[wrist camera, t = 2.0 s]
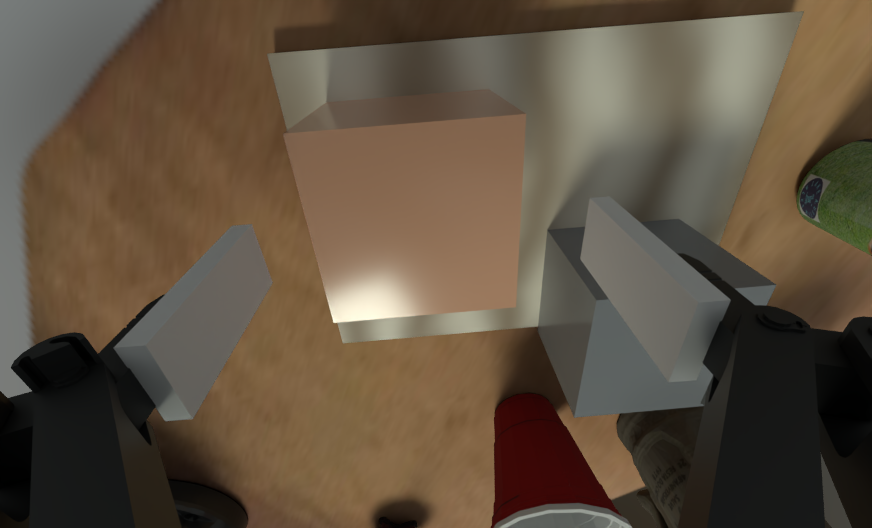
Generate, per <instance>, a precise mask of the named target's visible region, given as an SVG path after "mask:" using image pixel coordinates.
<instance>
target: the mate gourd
mask: <svg viewBox="0 0 872 528" xmlns="http://www.w3.org/2000/svg"><path fill="white" fill-rule="evenodd" d="M379 523H380V524H381V528H415V527H417V522H416V521H415V520H413V521H410V522H406V523H403V524H400V525H394V524H393V523H392V522H391V521H389V520H388V519H387V518H386V517H382V518H380V520H379Z"/></svg>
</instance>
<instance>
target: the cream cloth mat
mask: <svg viewBox="0 0 872 528" xmlns="http://www.w3.org/2000/svg"><path fill="white" fill-rule="evenodd" d="M803 13H804V11H801V12H786V13H774V14H761V15H748V16H736V17H723V18H711V19H698V20H685V21H673V22H660V23H648V24H635V25H622V26H610V27H597V28H585V29H572V30H559V31H547V32H534V33H522V34H509V35H496V36H484V37H471V38H459V39H446V40H433V41H421V42H408V43H396V44H383V45H370V46H358V47H345V48H333V49H320V50H307V51H295V52H282V53H271V54H267V56H268V59H269V63H270V67H271V71H272V75H273V78H274V82H275V86H276V90H277V94H278V98H279V101H280V105H281V109H282V113H283V117H284V120H285V124H286V128H287V130H289V129H290V128H291V127H293V126H294V125H295V124H297V123H298V122H300V121H301V120H302V119H304V118H305V117H306V116H308V115H309V114H311V113H312V112H313V111H315V110H316V109H317V108H319V107H320V106H322V105H323V104H324V103H326V102H335V101H347V100H360V99H372V98H384V97H397V96H409V95H422V94H434V93H446V92H459V91H471V90H484V89H490V90H491V91H493V92H494V93H496V94H497V95H499V96H500V97H502V98H503V99H505V100H506V101H508V102H509V103H511V104H512V105H514V106H515V107H517V108H518V109H520V110H521V111H523V112H524V113H526V128H525V147H524V166H523V185H522V203H521V222H520V241H519V260H518V279H517V298H516V307H514V308H502V309H490V310H479V311H467V312H455V313H444V314H432V315H421V316H409V317H397V318H386V319H374V320H362V321H351V322H339V323H338V326H339V330H340V334H341V338H342V342H343V343H352V342H363V341H375V340H387V339H398V338H410V337H421V336H433V335H444V334H456V333H468V332H479V331H491V330H502V329H514V328H525V327H537V326H538V322H539V311H540V301H541V290H542V280H543V269H544V258H545V248H546V237H547V230H552V229H563V228H575V227H585V225H586V219H587V212H588V206H589V199H590V198H595V197H608V196H610V197H611V198H612V199H613V200H614V201H616V202H617V203H618V204H619V205H620V206H621V207H623V208H624V209H625V210H626V211H627V212H628V213H630V214H631V215H632V216H633V217H634V218H635V219H637V220H638V221H639V222H647V221H659V220H670V219H680V220H681V221H683V222H684V223H686V224H687V225H689V226H690V227H692V228H693V229H695V230H696V231H698V232H699V233H701V234H702V235H704V236H705V237H707V238H708V239H709V240H711V241H712V242H714V243H715V244H717V245H718V246H719V243H720V241H721V238H722V235H723V232H724V230H725V227H726V224H727V221H728V219H729V216H730V213H731V210H732V208H733V205H734V202H735V199H736V197H737V194H738V191H739V188H740V186H741V183H742V180H743V177H744V175H745V172H746V169H747V166H748V164H749V161H750V158H751V155H752V153H753V150H754V147H755V144H756V142H757V139H758V136H759V133H760V131H761V128H762V125H763V122H764V120H765V117H766V114H767V111H768V109H769V106H770V103H771V100H772V98H773V95H774V92H775V89H776V87H777V84H778V81H779V79H780V76H781V73H782V70H783V68H784V65H785V62H786V59H787V57H788V54H789V51H790V48H791V46H792V43H793V40H794V37H795V35H796V32H797V29H798V26H799V24H800V21H801V18H802V15H803Z"/></svg>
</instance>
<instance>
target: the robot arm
mask: <svg viewBox="0 0 872 528" xmlns="http://www.w3.org/2000/svg"><path fill="white" fill-rule="evenodd" d="M580 259H581V261H582V262H583V264H584V265H585V266H586V268H587V269H588V271H589V272H590V273H591V275H592V276H593V278H594V279H595V280H596V282H597V283H598V284H599V286H600V287H601V289H602V290H603V291H604V293H605V294H606V296H607V297H608V298H609V300H610V301H611V303H612V304H613V305H614V307H615V308H616V310H617V311H618V312H619V314H620V315H621V317H622V318H623V319H624V321H625V322H626V324H627V325H628V326H629V328H630V329H631V331H632V332H633V333H634V335H635V336H636V338H637V339H638V340H639V342H640V343H641V345H642V346H643V347H644V349H645V350H646V352H647V353H648V354H649V356H650V357H651V359H652V360H653V361H654V363H655V364H656V366H657V367H658V368H659V370H660V371H661V373H662V374H663V375H664V377H665V378H666V380H667V381H668V382H680V381H693V380H697V378H698V375H699V373H700V371H701V368H702V366H703V364H704V365H705V366H706V367H707V369H708V370H709V371H710V372H711V373H712V374H713V377H712V379H711V381H710V383H709V385H708V388H707V390H706V392H705V394H704V396H703V398H702V401H701V403H700V404H703V405H704V409H703V414H702V418H701V423H700V427H699V432H698V437H697V441H696V446H695V450H694V455H693V459H692V464H691V468H690V473H689V478H688V482H687V487H686V491H685V496H684V500H683V505H682V510H681V514H680V519H679V523H678V528H825V518H824V502H823V486H822V470H821V454H822V457H823V459H824V461H825V464H826V466H827V469H828V471H829V473H830V476H831V478H832V481H833V483H834V486H835V488H836V490H837V493H838V495H839V498H840V500H841V502H842V505H843V507H844V509H845V512H846V514H847V517H848V519H849V521H850V524H851V526H852V528H872V317H858V318H853V319H852V320H851V321H850V322H849V324H848V325H847V327H846V328H845V330H844V331H843V332H836V331H828V330H821V329H813V328H811V327H810V325H808V324H807V323H806V322H805V321H804V320H803V319H801V318H800V317H798V316H796V315H794V314H792V313H790V312H788V311H785V310H782V309H779V308H776V307H771V306H765V305H754V304H753V303H752V302H751V301H749V300H748V299H747V298H746V297H744V296H743V295H742V294H741V293H739V292H738V291H737V290H736V289H734V288H733V287H732V286H731V285H729V284H728V283H727V282H726V281H725V280H722V278H721V277H720V276H718V275H717V274H716V273H715V272H712V270H711V269H710V268H708V267H707V266H706V265H705V264H703V263H702V262H701V261H699V260H697V259H695V258H693V257H691V256H689V255H687V254H684V253H679V254H676V253H675V252H674V251H673V250H672V249H671V248H669V247H668V246H667V245H666V244H665V243H664V242H662V241H661V240H660V239H659V238H658V237H657V236H655V235H654V234H653V233H652V232H651V231H650V230H648V229H647V228H646V227H645V226H644V225H642V224H641V223H640V222H639V221H638V220H637V219H635V218H634V217H633V216H632V215H631V214H630V213H628V212H627V211H626V210H625V209H624V208H623V207H621V206H620V205H619V204H618V203H617V202H616V201H614V200H613V199H612V198H611V197H610V196H608V197H595V198H590V199H589V206H588V212H587V219H586V225H585V232H584V238H583V244H582V251H581V257H580ZM272 283H273V282H272V280H271V277H270V274H269V271H268V268H267V266H266V263H265V260H264V257H263V254H262V252H261V249H260V246H259V243H258V241H257V238H256V235H255V232H254V229H253V227H252V224H249V225H237V226H231V227H230V228H229V229H228V230H227V232H226V233H225V234H224V235H223V236H222V237H221V238H220V239H219V240H218V241H217V242H216V243H215V244H214V245H213V246H212V247H211V248H210V249H209V250H208V251H207V252H206V253H205V254H204V255H203V256H202V257H201V258H200V259H199V260H198V261H197V262H196V263H195V264H194V265H193V267H192V268H191V269H190V270H189V271H188V272H187V273H186V274H185V275H184V276H183V277H182V278H181V279H180V280H179V281H178V282H177V283H176V284H175V285H174V286H173V287H172V288H171V289H170V290H169V291H168V292H167V293H166V294H165V295H162V296H160V297H159V298H157V299H156V300H154V301H153V302H151V303H149V304H148V305H147V306H146V307H145V308H144V309H143V310H142V311H141V312H140V313H139V314H138V315H137V316H136V318H135V319H133V320H132V321H131V322H130V323H129V324H128V325H127V328H124V329H123V330H122V331H121V332H120V333H119V334H118V335H117V336H116V337H115V338H114V339H113V340H112V341H111V342H110V343H109V344H108V345H107V346H106V347H105V348H104V349H103V350H102V351H101V352H100V353H99V354H97V352H96V351H95V350H94V348H93V347H92V346H91V344H90V343H89V341H88V340H87V339H86V337H85V336H84V335H83V334H81V333H75V332H74V333H67V334H62V335H59V336H56V337H52V338H49V339H47V340H45V341H43V342H41V343H38V344H36V345H35V346H33V347H31V348H30V349H28V350H27V351H25V352H24V353H22V354H21V355H20V356H19V357H18V358H17V359H16V360H15V361H14V363H13V364H12V366H11V369H12V370H13V371H14V372H15V373H16V374H17V375H18V376H19V377H20V378H21V379H22V380H23V382H25V384H26V385H27V386H28V387H29V388H30V389H31V390H32V392H29V393H25V394H21V395H18V396H14V397H11V398H7V397H6V396H5V395H4V394H3V393H2V392H1V391H0V528H246V527H247V516H246V514H245V512H244V511H243V509H242V508H241V507H240V506H239V505H238V504H237V503H236V502H235V501H233V500H232V499H230V498H229V497H227V496H225V495H223V494H221V493H219V492H217V491H215V490H212V489H209V488H206V487H203V486H200V485H196V484H191V483H186V482H179V481H168V479H167V476H166V472H165V469H164V465H163V462H162V458H161V455H160V452H159V448H158V445H157V441H156V438H155V434H154V431H153V428H152V426H151V425H150V423H149V422H148V421H147V418H148V417H149V415H150V414H151V412H152V411H153V409H154V408H156V409H157V410H158V412H159V413H160V415H161V416H162V417H163V419H164V420H165V421H174V420H187V419H193V418H194V416H195V414H196V413H197V411H198V409H199V408H200V406H201V404H202V403H203V401H204V399H205V397H206V396H207V394H208V392H209V391H210V389H211V387H212V385H213V384H214V382H215V380H216V379H217V377H218V375H219V374H220V372H221V370H222V368H223V367H224V365H225V363H226V362H227V360H228V358H229V356H230V355H231V353H232V351H233V350H234V348H235V346H236V345H237V343H238V341H239V339H240V338H241V336H242V334H243V333H244V331H245V329H246V328H247V326H248V324H249V322H250V321H251V319H252V317H253V316H254V314H255V312H256V310H257V309H258V307H259V305H260V304H261V302H262V300H263V299H264V297H265V295H266V293H267V292H268V290H269V288H270V287H271V285H272ZM820 452H821V454H820Z"/></svg>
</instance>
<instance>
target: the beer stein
mask: <svg viewBox="0 0 872 528" xmlns="http://www.w3.org/2000/svg"><path fill="white" fill-rule="evenodd" d="M703 409H704V406H699V407H687V408H676V409H665V410H653V411H642V412H631V413H622V414H621V416H620V418H619V420H618V423H617V433H618V437H619V438H620V440H621V441H622V443H623V444H624V446H625V447H626V448H627V450H628V451H629V452H630V453H631V455H632V457H633V462H634V465H635V466H636V468H637V469H638V472H639V474H640V476H641V478H642V480H643V482H644V484H645V485H646V487H647V489H646V490H642V491H639V492H638V493H637V497H638V499H639V502H640V504H641V505H642V506H643V507H644V508H645V509H646V510H647V511H648V512H649V513H650V514H651V515H652V516H653V518H654V521H655V523H656V526H657V528H678V523H679V519H680V514H681V510H682V505H683V500H684V496H685V491H686V487H687V482H688V478H689V473H690V468H691V464H692V459H693V455H694V450H695V446H696V441H697V437H698V432H699V427H700V423H701V418H702V414H703ZM825 528H831V526H830V525H829V524H828V523H827V521H826V520H825Z"/></svg>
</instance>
